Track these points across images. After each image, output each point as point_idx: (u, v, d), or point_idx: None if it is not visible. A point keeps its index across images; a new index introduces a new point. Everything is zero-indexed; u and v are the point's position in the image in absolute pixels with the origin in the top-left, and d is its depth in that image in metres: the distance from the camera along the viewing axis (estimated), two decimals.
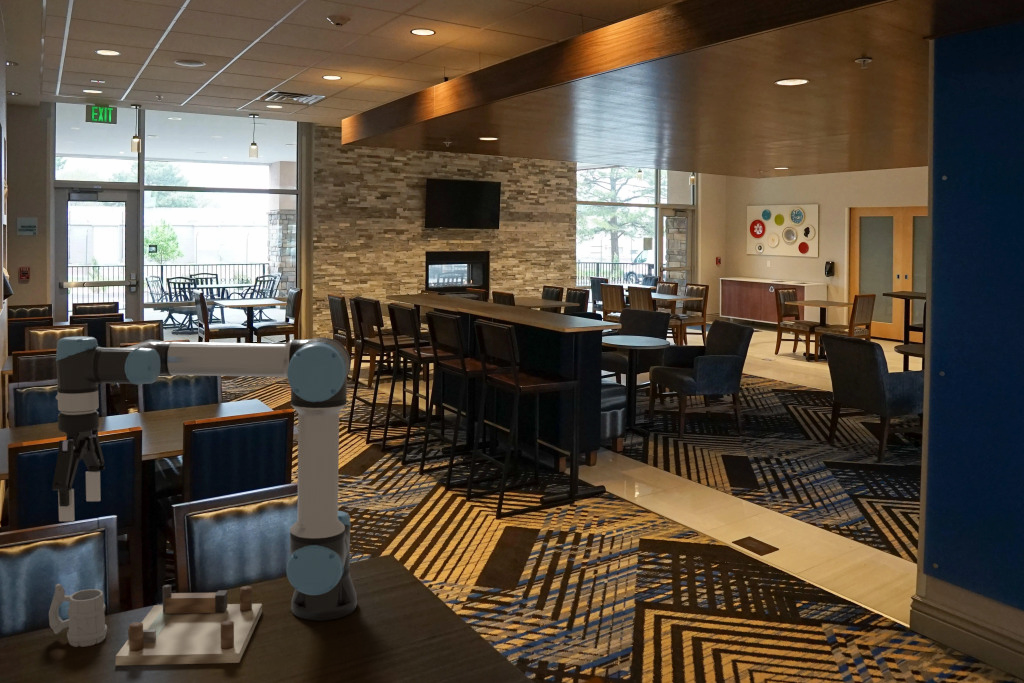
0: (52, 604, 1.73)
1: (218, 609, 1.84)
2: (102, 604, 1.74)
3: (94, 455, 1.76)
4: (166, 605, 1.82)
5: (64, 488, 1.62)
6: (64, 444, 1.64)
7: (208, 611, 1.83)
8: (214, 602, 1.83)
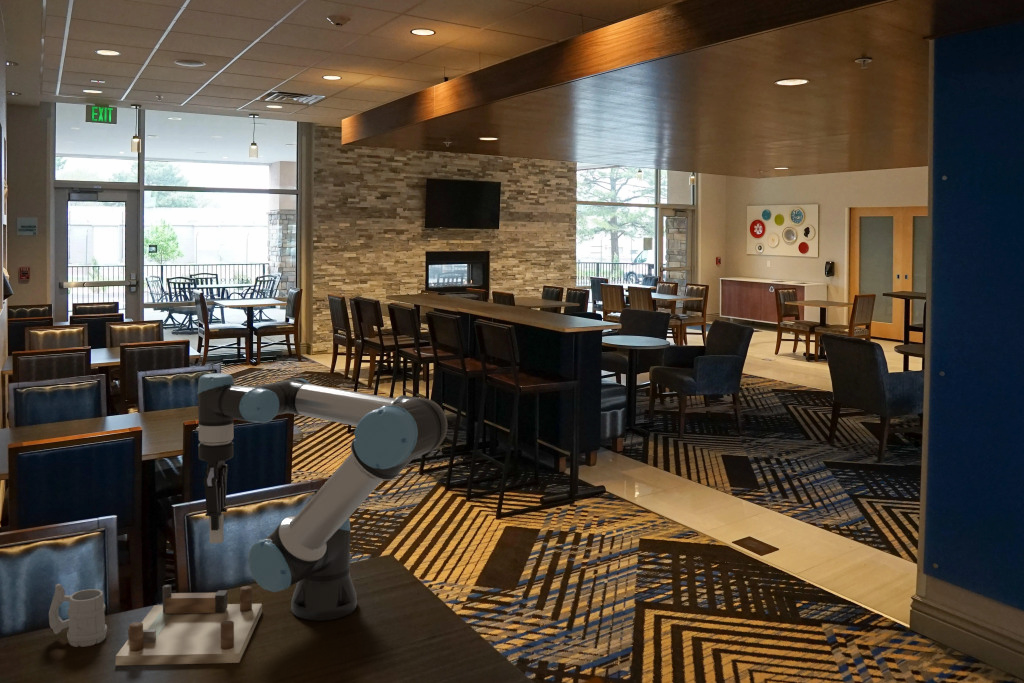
0: (52, 604, 1.73)
1: (218, 609, 1.84)
2: (102, 604, 1.74)
3: (223, 490, 1.89)
4: (166, 605, 1.82)
5: (217, 515, 1.85)
6: (208, 482, 1.81)
7: (208, 611, 1.83)
8: (214, 602, 1.83)
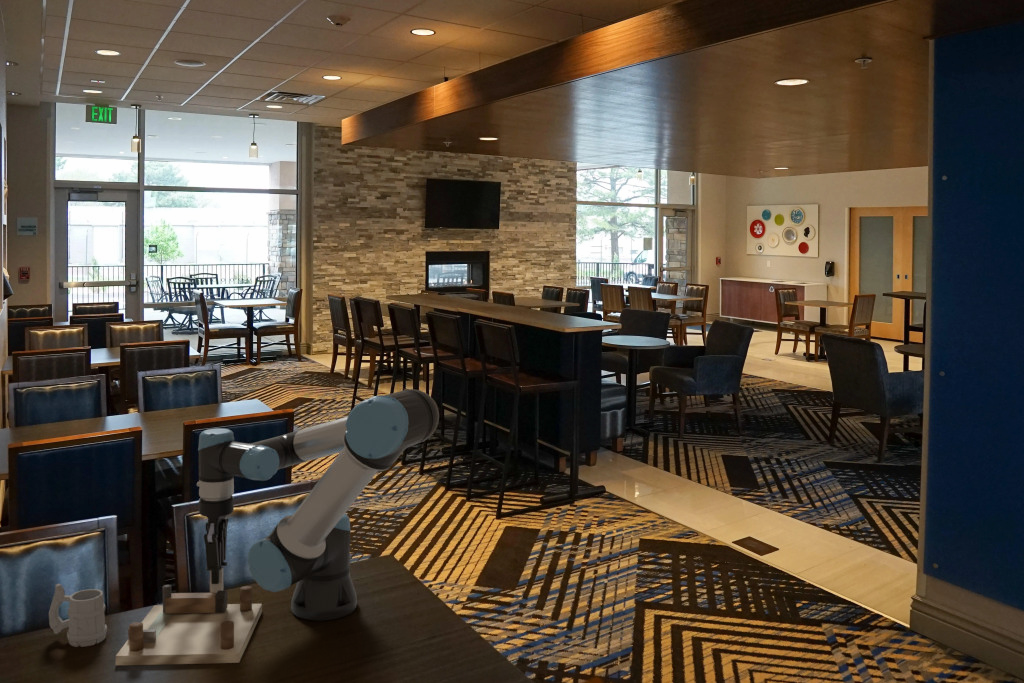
0: (52, 604, 1.73)
1: (218, 609, 1.84)
2: (102, 604, 1.74)
3: (223, 544, 1.90)
4: (166, 605, 1.82)
5: (217, 570, 1.86)
6: (209, 539, 1.83)
7: (208, 611, 1.83)
8: (214, 602, 1.83)
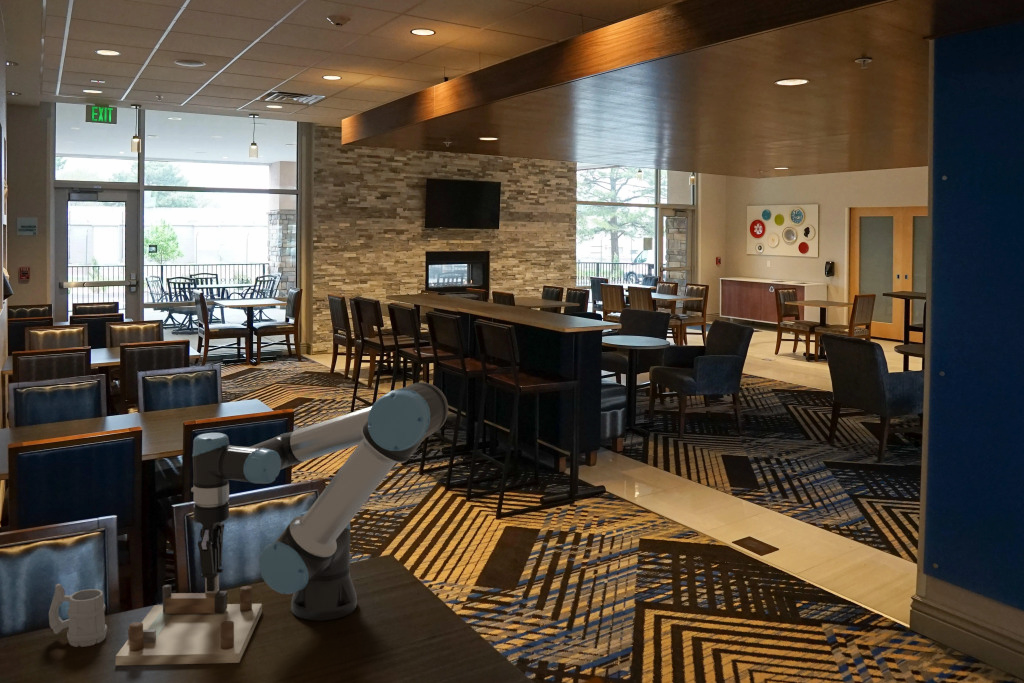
0: (52, 604, 1.73)
1: (217, 610, 1.83)
2: (102, 604, 1.74)
3: (218, 551, 1.86)
4: (166, 605, 1.82)
5: (212, 577, 1.83)
6: (203, 546, 1.79)
7: (207, 612, 1.83)
8: (213, 602, 1.83)
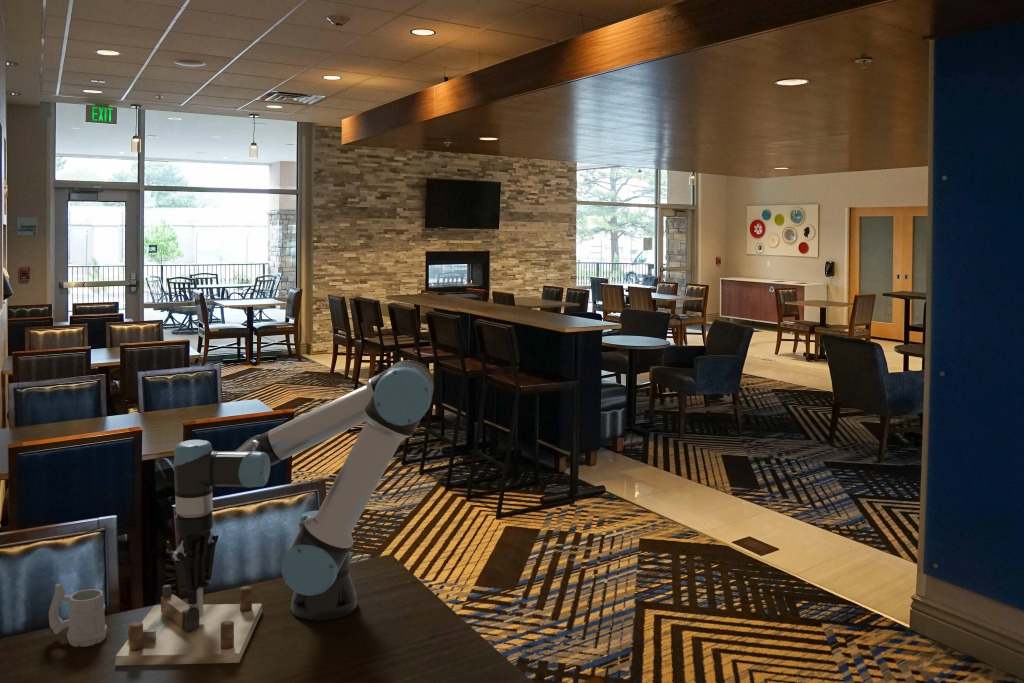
0: (52, 604, 1.73)
1: (183, 626, 1.75)
2: (102, 604, 1.74)
3: (203, 563, 1.79)
4: (161, 605, 1.82)
5: (189, 590, 1.75)
6: (174, 557, 1.72)
7: (179, 625, 1.76)
8: (181, 617, 1.75)
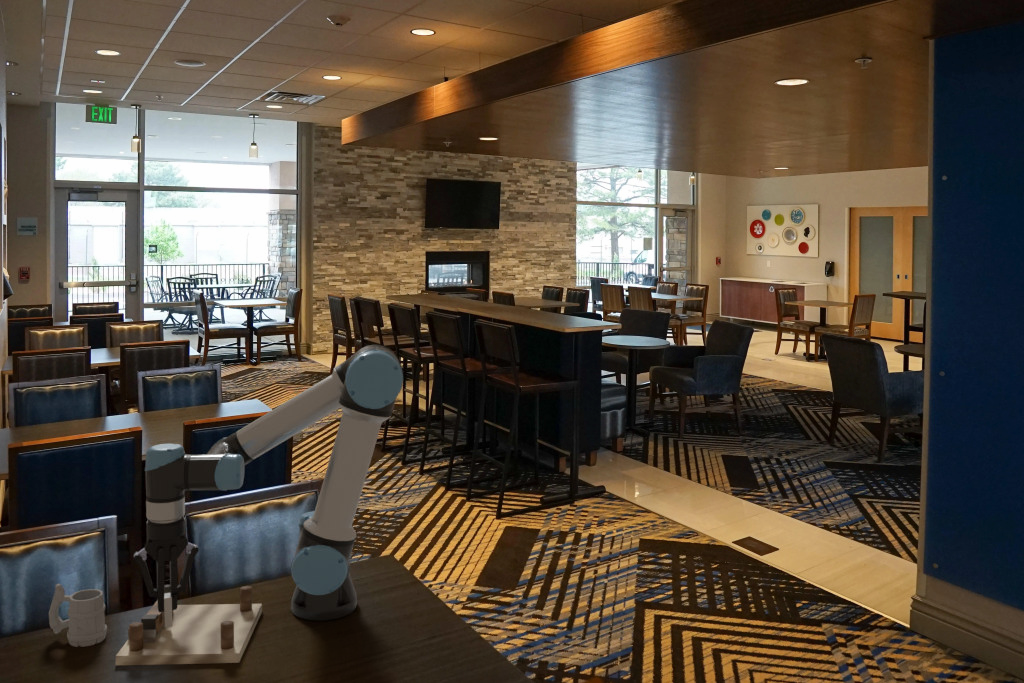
0: (52, 604, 1.73)
1: None
2: (102, 604, 1.74)
3: (173, 572, 1.74)
4: None
5: None
6: None
7: None
8: None
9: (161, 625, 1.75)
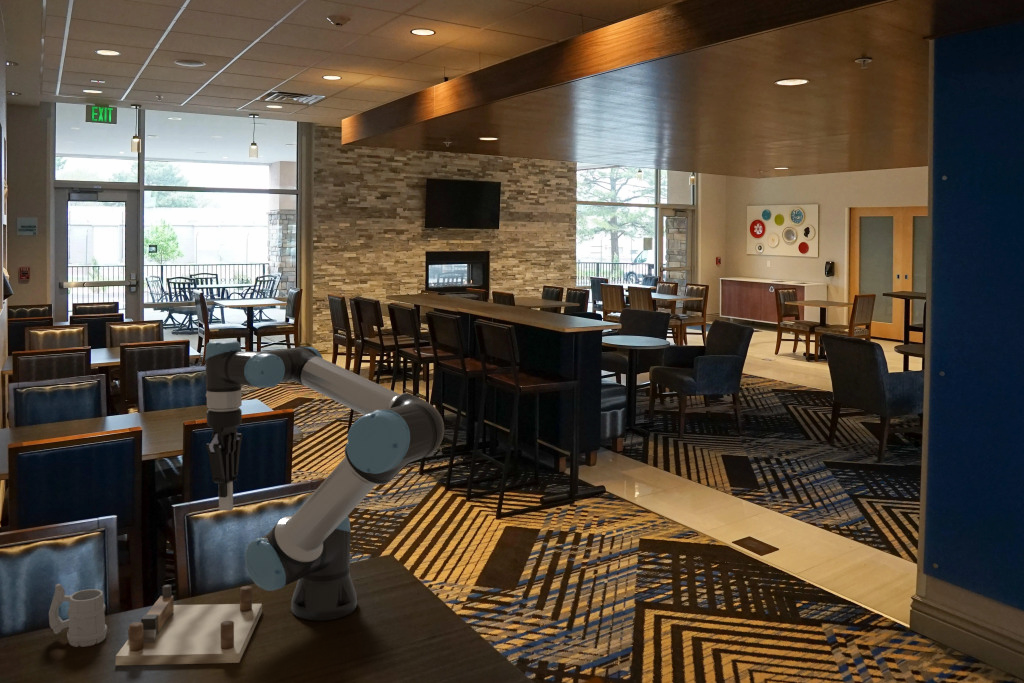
0: (52, 604, 1.73)
1: None
2: (102, 604, 1.74)
3: (232, 458, 1.88)
4: None
5: (222, 482, 1.84)
6: (211, 448, 1.81)
7: None
8: None
9: (161, 625, 1.75)
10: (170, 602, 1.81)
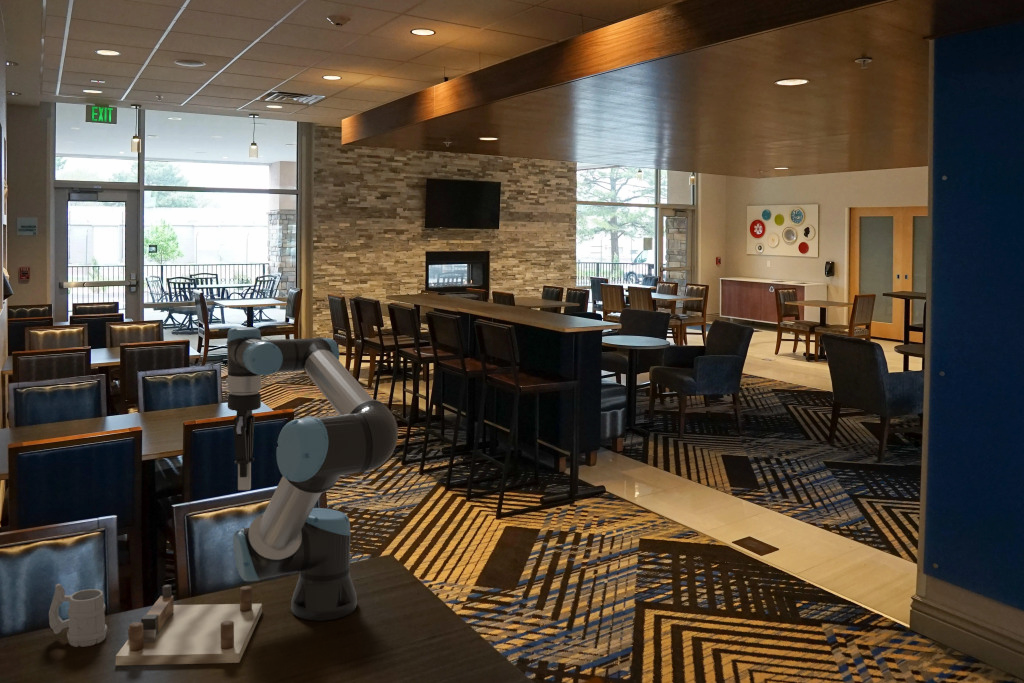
0: (52, 604, 1.73)
1: None
2: (102, 604, 1.74)
3: (250, 440, 1.97)
4: None
5: (245, 462, 1.93)
6: (238, 430, 1.89)
7: None
8: None
9: (161, 625, 1.75)
10: (170, 602, 1.81)
